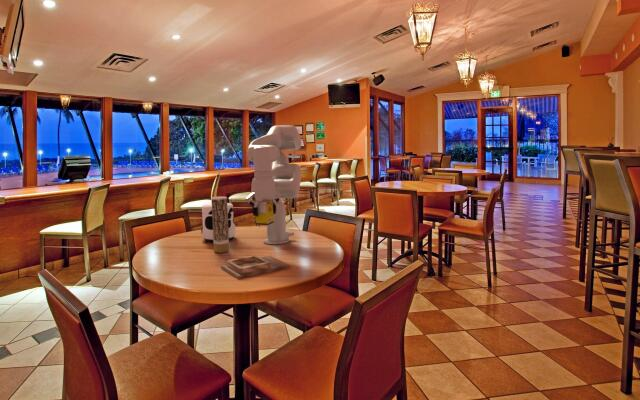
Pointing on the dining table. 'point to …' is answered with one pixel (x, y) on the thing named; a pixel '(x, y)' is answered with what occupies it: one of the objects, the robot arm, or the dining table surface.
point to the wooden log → (220, 224)
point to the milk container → (208, 222)
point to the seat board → (253, 266)
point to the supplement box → (265, 213)
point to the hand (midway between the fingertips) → (264, 214)
